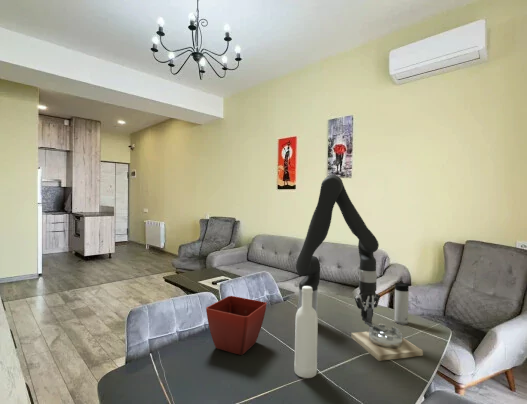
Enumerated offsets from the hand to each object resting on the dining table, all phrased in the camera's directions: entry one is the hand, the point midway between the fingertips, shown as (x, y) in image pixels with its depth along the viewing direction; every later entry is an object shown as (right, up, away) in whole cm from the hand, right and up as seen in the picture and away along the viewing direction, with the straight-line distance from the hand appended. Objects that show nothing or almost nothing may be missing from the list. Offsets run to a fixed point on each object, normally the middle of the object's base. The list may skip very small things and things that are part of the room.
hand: (367, 317), depth 136 cm
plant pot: (-59, -7, -12) cm, 60 cm away
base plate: (+4, -8, -10) cm, 14 cm away
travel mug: (+23, -9, +16) cm, 29 cm away
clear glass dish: (+3, -6, -7) cm, 10 cm away
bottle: (-33, -8, -31) cm, 46 cm away
